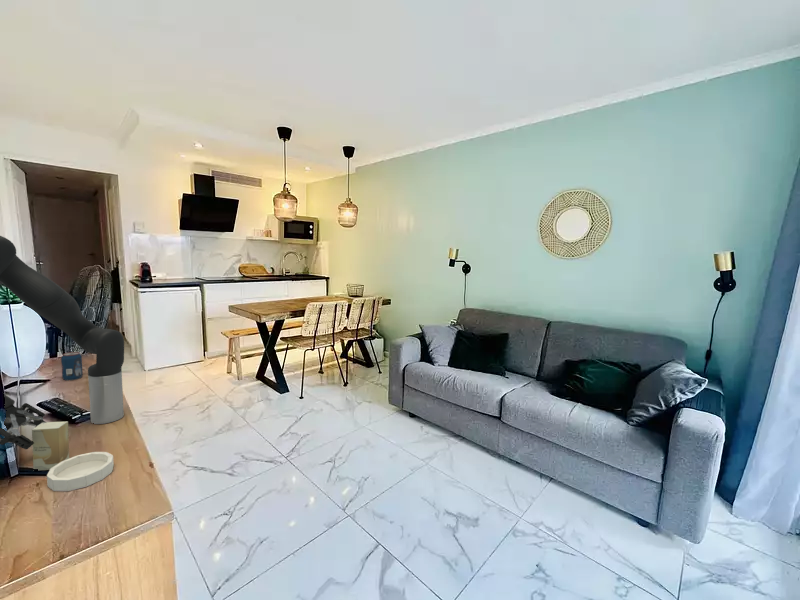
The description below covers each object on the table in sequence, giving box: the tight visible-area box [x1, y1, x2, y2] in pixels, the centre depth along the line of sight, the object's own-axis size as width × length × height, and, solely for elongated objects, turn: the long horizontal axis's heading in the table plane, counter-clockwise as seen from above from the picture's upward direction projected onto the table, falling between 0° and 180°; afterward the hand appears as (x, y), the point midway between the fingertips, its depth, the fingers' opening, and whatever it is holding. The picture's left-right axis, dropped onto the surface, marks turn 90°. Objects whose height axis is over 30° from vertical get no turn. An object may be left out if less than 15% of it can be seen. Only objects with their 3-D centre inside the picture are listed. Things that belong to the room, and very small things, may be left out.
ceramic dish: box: [46, 451, 115, 492], centre depth 95 cm, size 13×13×3 cm
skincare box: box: [31, 421, 70, 471], centre depth 98 cm, size 6×4×12 cm
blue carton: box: [60, 351, 84, 382], centre depth 163 cm, size 7×7×12 cm
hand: (41, 438), depth 97 cm, fingers open, 8 cm apart
